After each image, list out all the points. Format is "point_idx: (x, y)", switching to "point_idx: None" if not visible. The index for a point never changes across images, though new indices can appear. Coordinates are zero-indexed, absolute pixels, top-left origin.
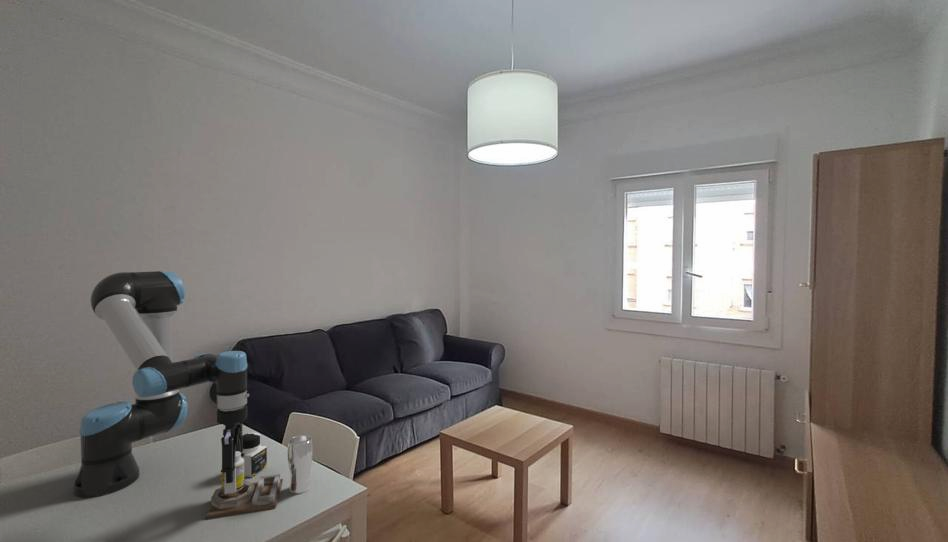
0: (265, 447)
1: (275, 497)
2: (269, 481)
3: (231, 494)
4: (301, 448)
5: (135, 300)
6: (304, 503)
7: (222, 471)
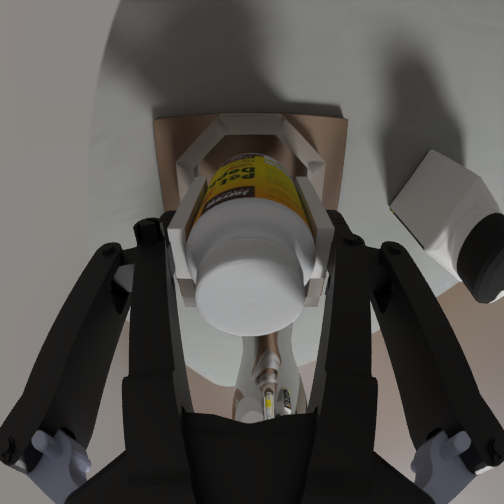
0: (458, 279)
1: None
2: None
3: None
4: None
5: None
6: (195, 334)
7: (98, 252)
